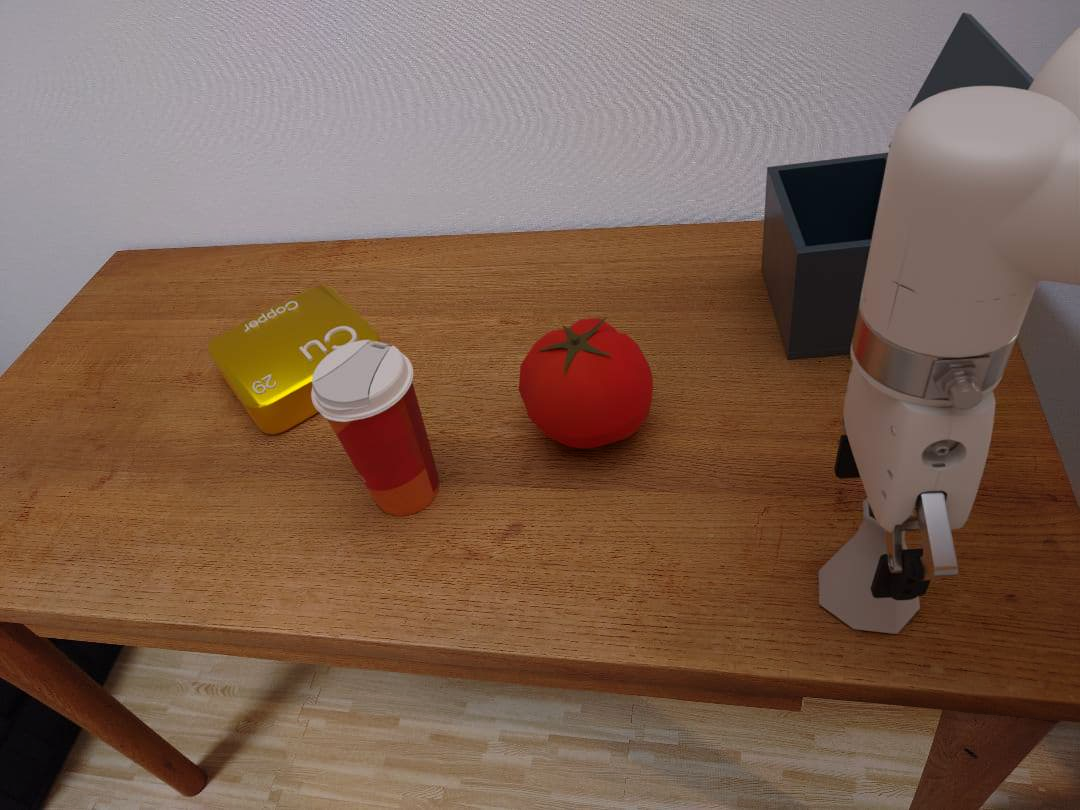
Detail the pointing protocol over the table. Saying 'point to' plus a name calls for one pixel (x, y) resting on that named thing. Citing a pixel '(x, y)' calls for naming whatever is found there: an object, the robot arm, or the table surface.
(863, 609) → the flask
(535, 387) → the tomato
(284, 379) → the element tile
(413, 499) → the coffee cup
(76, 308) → the table surface
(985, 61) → the lid
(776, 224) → the cool box
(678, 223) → the table surface
